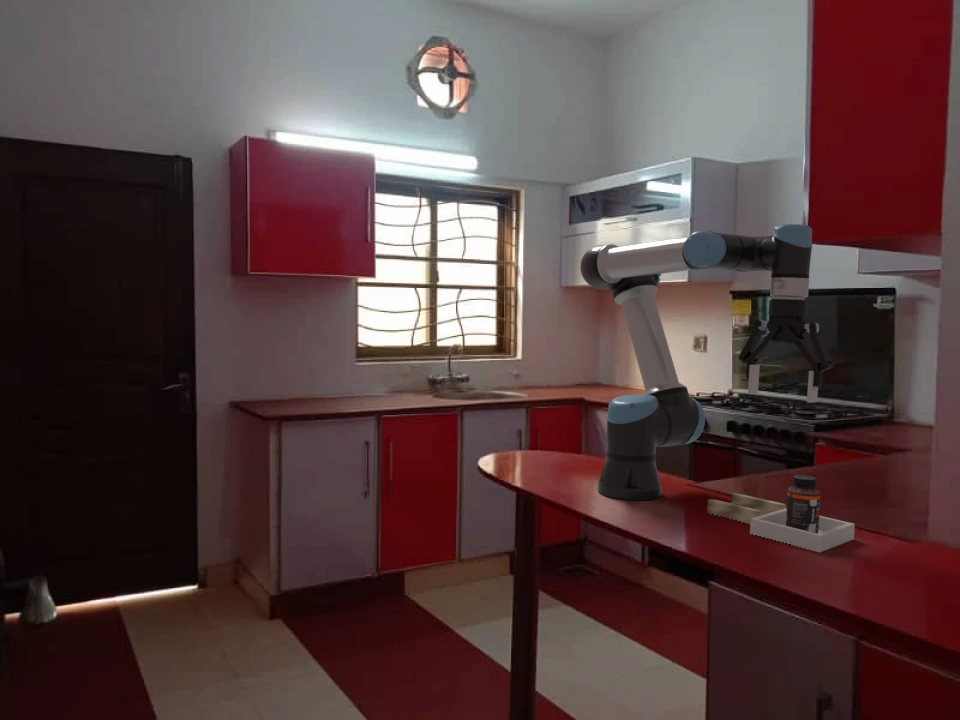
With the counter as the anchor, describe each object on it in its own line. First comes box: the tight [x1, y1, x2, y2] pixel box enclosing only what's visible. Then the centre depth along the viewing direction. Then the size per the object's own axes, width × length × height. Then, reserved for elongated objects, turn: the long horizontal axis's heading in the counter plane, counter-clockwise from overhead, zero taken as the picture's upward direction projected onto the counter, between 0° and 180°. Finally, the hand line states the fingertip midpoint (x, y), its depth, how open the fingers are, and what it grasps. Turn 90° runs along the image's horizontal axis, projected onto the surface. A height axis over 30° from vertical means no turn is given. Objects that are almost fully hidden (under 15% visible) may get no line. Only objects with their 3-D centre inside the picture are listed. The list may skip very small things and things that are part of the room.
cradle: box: [707, 492, 787, 525], centre depth 161 cm, size 12×11×3 cm
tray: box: [749, 507, 855, 553], centre depth 146 cm, size 14×14×3 cm
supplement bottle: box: [786, 474, 821, 534], centre depth 146 cm, size 6×6×11 cm
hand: (781, 398), depth 159 cm, fingers open, 13 cm apart
